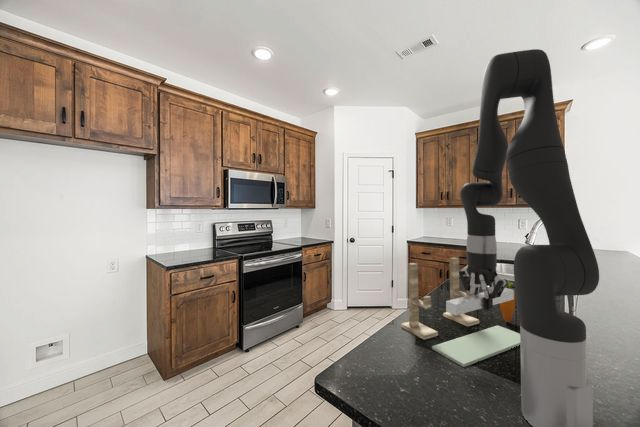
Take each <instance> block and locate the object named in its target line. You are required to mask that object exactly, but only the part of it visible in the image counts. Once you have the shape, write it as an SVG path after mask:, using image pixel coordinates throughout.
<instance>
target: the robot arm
mask: <svg viewBox="0 0 640 427" xmlns="http://www.w3.org/2000/svg"><path fill="white" fill-rule="evenodd" d="M481 83H482V84H481V92H480V93H481V94H480V106H479V122H478V123H479V124H478V125H479V126H478V128H479V129H478V140H477V145H476V151H475V156H474V160H473V165H472V171H471V172H472V175H473V176H474V177H475V178H476V179H479V180H482V181H483V182H482V181H479V182H477V181H476V182H467V183H465V184H464V185H462V187H461V189H460V192H459V194H460V195H459V196H460V200H461V204H462V206H463V208H464V212H465V216H466V222H467V226H466V228H467V236H466V265H467V268H466V269H463V270H459V279H460V281H461V282H462V286H463V288H464V290H465V291H466V290H468V291H469V292H470V293H471V295H473V294H477V293H480V287H481V289H482V292H484V296H485V298H484V308H483V311H484V312H490V311H491V310H493V308H494V305H493V299H494V298H497V297H500V296H501V294H502V292H503V290H504V288H505V287H506V285H507V286H508V284H507V283H508V281H509V280H507V279H506V278H501V277H500V276H498V273H497V270H496V269H497V266H498V258H497V250H498V248H497V246H498V245H497V239H496V238H497V237H496V218H495V216H493V215H492V214H485V213H481V212H480V211H479V210H478V208H477V207H494V206H497V205H498V204H500V203H501V201H502V199H503V196H504V195H503V194H504V193H503V170H504V167H505V164H506V165H507V171H508V177H509V182H510V184H511V186H512V187H513V189H514V190H515V192H516V193H517V194H518V195H519V197H520V198H521V199H522V200H523V201H524V202H525V204H527V205H528V206H529V207H530V209H532V210H533V212H534V213H535V214H536V215H537V216H538V218H539V220H540V221H541V222H542V224H543V227H544V229H545V233H546V234H547V239H548V244H529V245H524V246H522V247H520V248H519V249H518V250H517V251H516V253H515V256H514V260H513V279H514V288H515V289H514V293H515V306H516V309H517V312H518V316H519V329H520V330H519V334H520V348H519V349H520V394H521V395H520V396H521V397H520V398H521V399H520V402H521V414H522V416H524V417H523V418H524V420H525V421H526V420H527V421H528V422H527V421H526V422H527V423H529V425H531V426H532V427H594V411H593V410H594V408H593V407H594V406H593V405H594V404H593V403H594V402H593V400H594V393H593V390H594V389H593V386H594V385H593V384H594V383H593V381H592V380H591V379H588V378H587V377H588V376H587V373H588V372H587V369H588V368H587V328H586V324H585V322H584V321H583V320H582V319H581V318H579V317H577V316H576V315H574V314H571V313H569V312H566V311H563V310H560V309H559V308H558V305H557V299H556V296H586V295H590V294H592V293H593V292H594V291H596V289H597V287H598V286H599V282H600V269H599V263H598V260H597V258H596V254H595V250H594V248H593V246H592V244H591V241H590V238H589V234H588V232H587V230H586V227H585V225H584V222H583V219H582V216H581V214H580V213H581V212H580V210H579V207H578V204H577V199H576V196H575V193H574V187H573V184H572V180H571V175H570V169H569V164H568V160H567V155H566V151H565V147H564V143H563V140H562V136H561V132H560V129H559V125H558V124H559V123H558V119H557V118H558V117H557V114H556V108H555V99H554V91H553V79H552V69H551V63H550V59H549V57H548V54H547V53H546V52H545V51H544V50H542V49H539V48H537V49H534V48H533V49H525V50H518V51H511V52H505V53H499V54H496V55H494V56H492V57H491V59H490V60H489V61H488V62H487V64H486V67H485V69H484V73H483V77H482V82H481ZM514 98H521V99H522V100H523V105H524V115H523V118H522V121H521V122H520V125H519V127H518V128H517V130H516V132H515V134H514V135H513V137H512V139H511V140H510V143H509V142H508V138H507V137H506V134H505V132H504V129H503V127H502V125H501V123H500V120H499V114H498V112H499V111H498V110H499V104H500V101H501V100H504V99H514ZM494 282H495V283H494Z"/></svg>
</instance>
